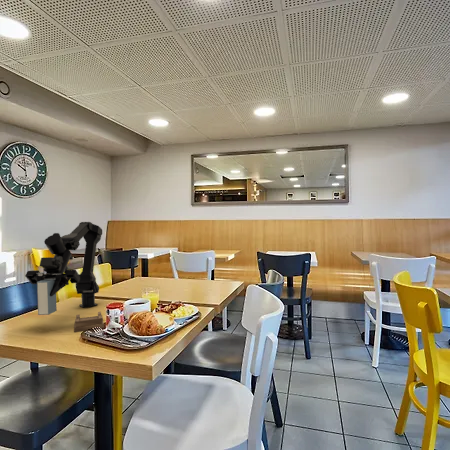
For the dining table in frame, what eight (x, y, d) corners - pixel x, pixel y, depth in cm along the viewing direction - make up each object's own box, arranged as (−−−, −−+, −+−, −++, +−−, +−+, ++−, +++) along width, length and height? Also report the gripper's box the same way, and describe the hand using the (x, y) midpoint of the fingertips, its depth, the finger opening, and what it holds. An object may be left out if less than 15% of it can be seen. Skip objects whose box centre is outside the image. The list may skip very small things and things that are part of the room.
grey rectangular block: (46, 310, 117) (45, 279, 117) (56, 310, 117) (55, 279, 117) (37, 315, 112) (36, 282, 112) (48, 314, 112) (47, 281, 112)
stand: (75, 322, 123) (75, 313, 122) (102, 318, 127) (102, 310, 127) (74, 332, 112) (73, 322, 112) (103, 327, 116) (103, 318, 116)
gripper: (27, 249, 119) (7, 284, 108) (75, 248, 118) (61, 283, 107) (40, 267, 127) (23, 300, 116) (85, 266, 126) (73, 299, 115)
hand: (44, 295), depth 113 cm, fingers closed on grey rectangular block, 4 cm apart
